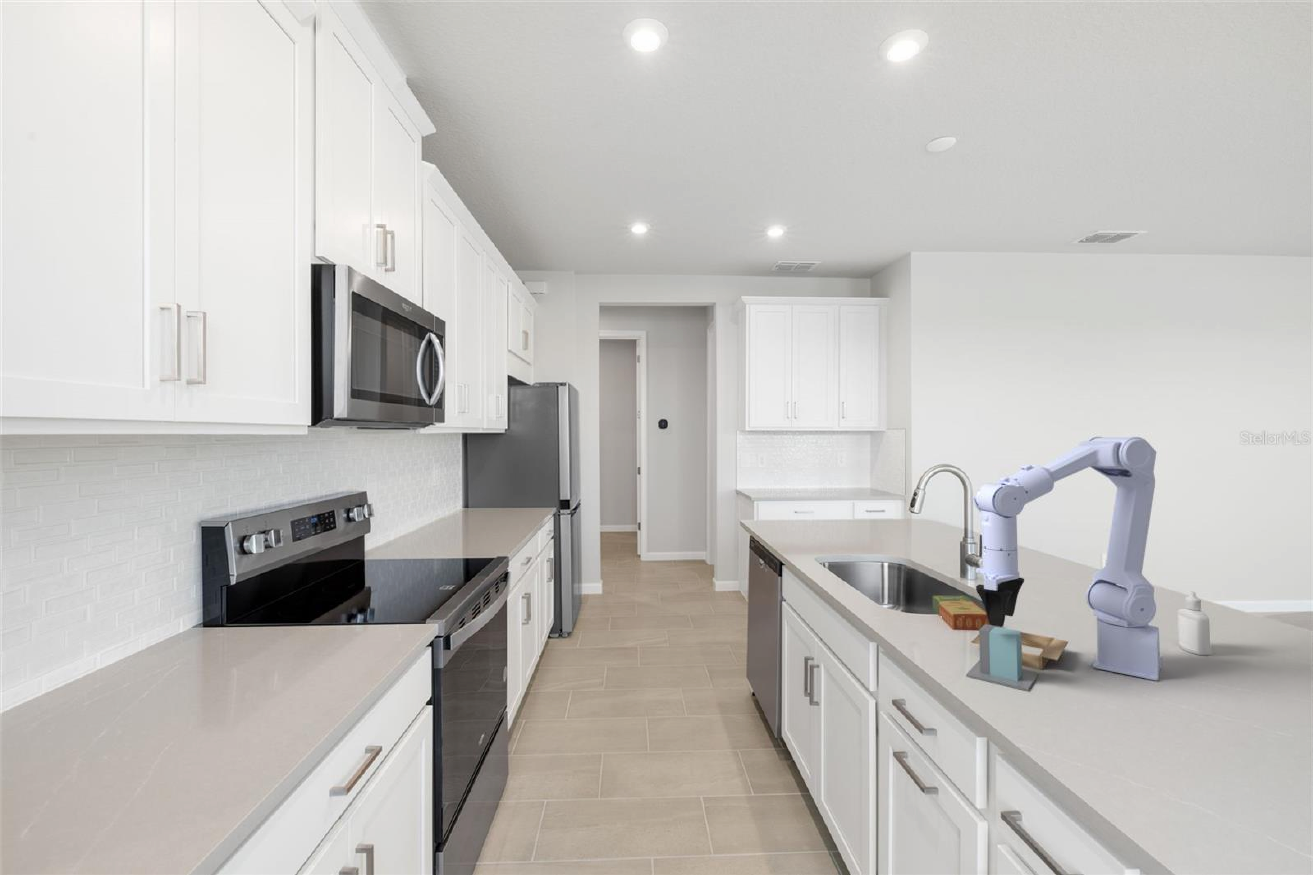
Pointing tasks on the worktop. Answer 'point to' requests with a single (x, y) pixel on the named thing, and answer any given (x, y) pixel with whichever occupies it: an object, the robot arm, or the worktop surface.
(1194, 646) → the eye dropper bottle
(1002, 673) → the capped box
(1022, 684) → the slate coaster
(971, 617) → the carton
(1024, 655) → the open carton
